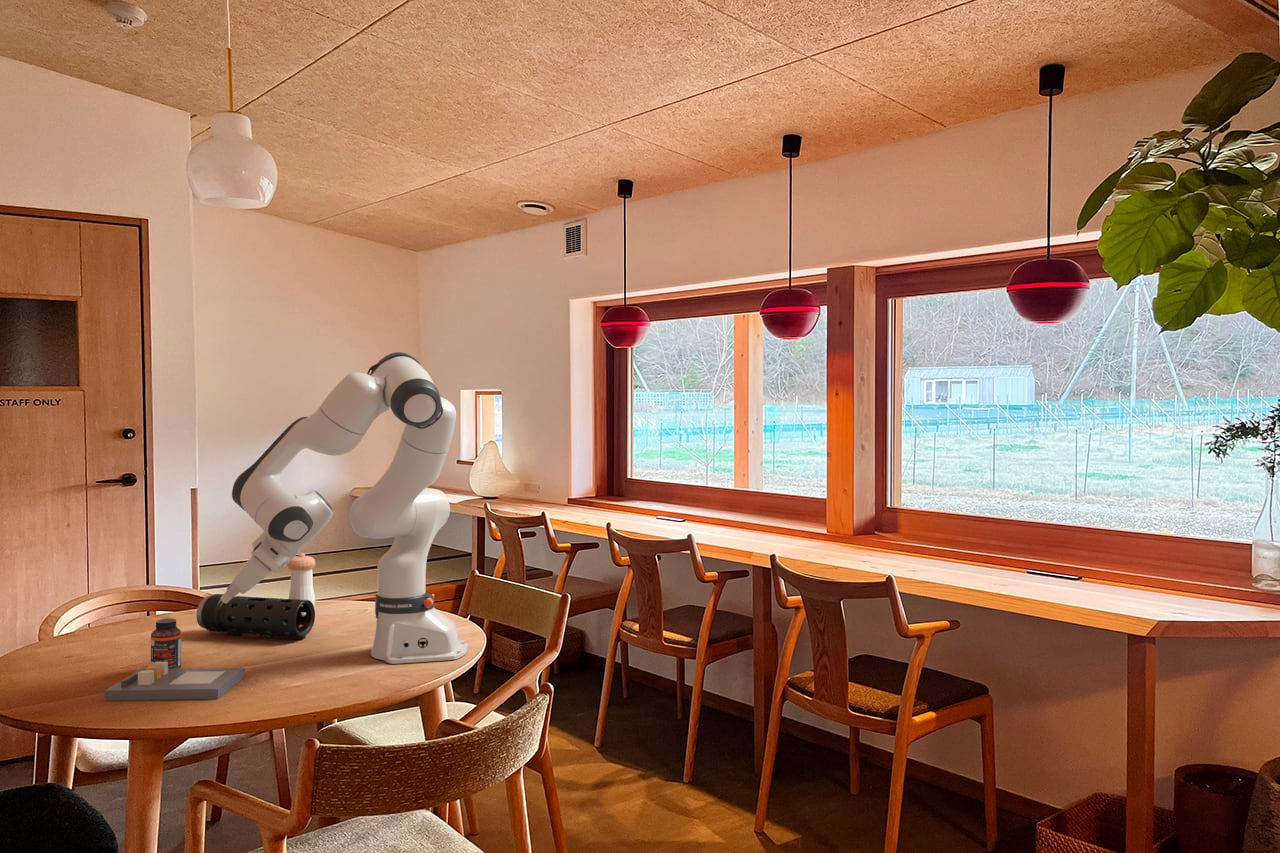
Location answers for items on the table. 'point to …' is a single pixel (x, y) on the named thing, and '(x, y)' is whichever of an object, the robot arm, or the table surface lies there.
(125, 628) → the table surface
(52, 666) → the table surface
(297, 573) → the pepper shaker
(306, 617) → the muzzle brake
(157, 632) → the supplement bottle
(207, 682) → the breaker board
